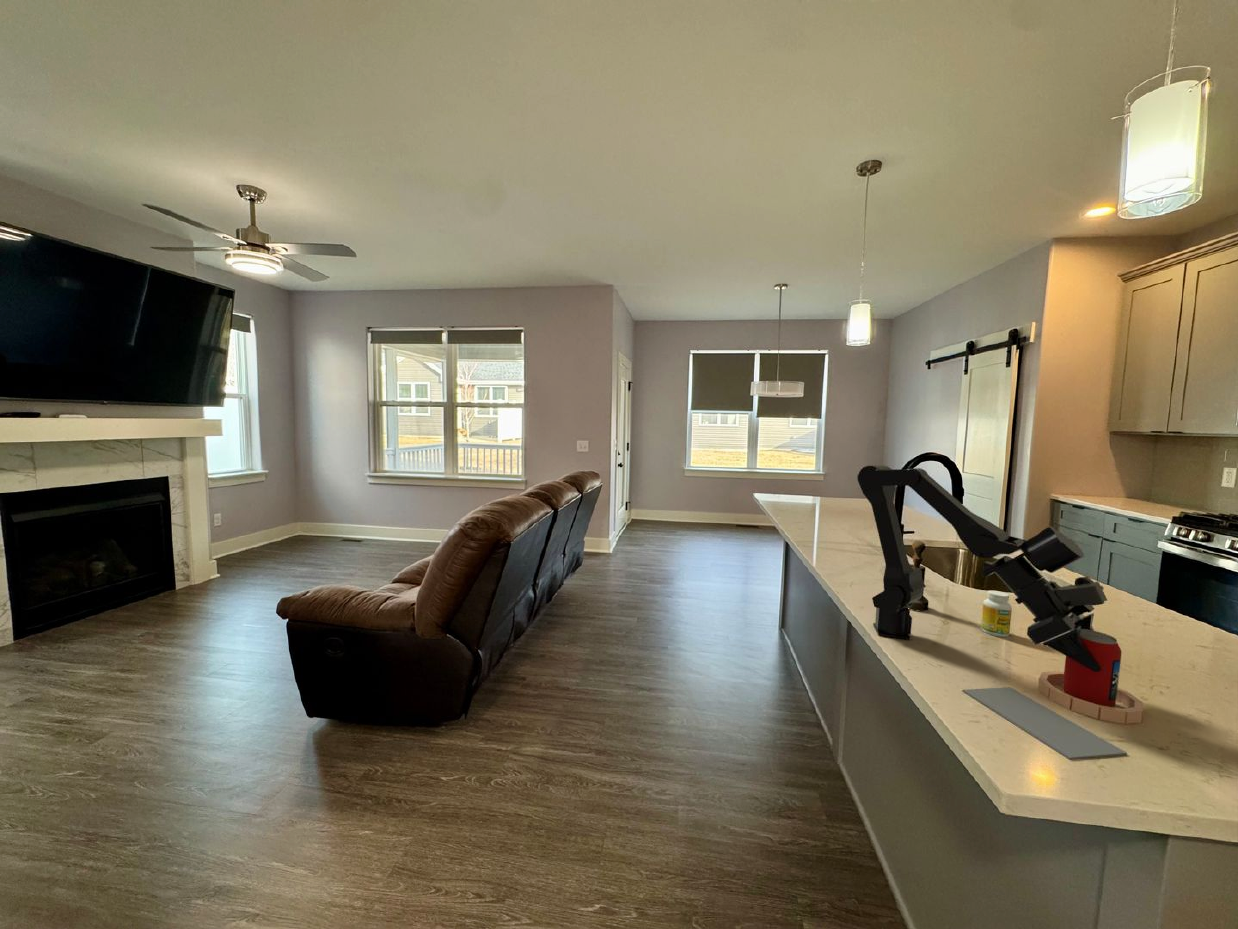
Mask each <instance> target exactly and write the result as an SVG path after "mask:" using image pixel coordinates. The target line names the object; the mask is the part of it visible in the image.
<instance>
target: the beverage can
mask: <svg viewBox="0 0 1238 929" xmlns="http://www.w3.org/2000/svg"><path fill="white" fill-rule="evenodd" d="M1080 639H1081V640H1082V642H1083V643H1084V644H1085V646H1086V647H1087V648H1088V650H1089V651H1090V653H1091V654H1092V655H1093V657H1094V658H1095V659H1096V661H1097V662H1098V664H1099V665H1100V667H1101V668H1102V670H1101V671H1098V672H1094V671H1092V670H1091V669H1089V668H1087V667H1085V666H1083V665H1082V664H1080V663H1078V662H1076V661H1075V660H1073V659H1071V658H1069V657H1067V656H1066V655H1065V662H1064V671H1063V672H1064V680H1063V684H1062V692H1064V693H1066V694H1069V695H1071V696H1073V697H1075V698H1078V699H1081V700H1084V701H1087V702H1091V703H1094V704H1097V705H1102V706H1108V707H1114V708H1115V706H1116V702H1117V701H1116V696H1117V688H1119V687H1118V686H1119V679H1120V671H1121V670H1120V669H1121V663H1122V662H1121V661H1122V649H1121V647H1120V646H1119V644H1118V640H1117V638H1116V637H1114V636H1112V635H1110V634H1106V633H1104V632H1101V631H1097V630H1094V631H1093V630H1087V629H1081V630H1080Z"/></svg>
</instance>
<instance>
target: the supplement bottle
mask: <svg viewBox="0 0 1238 929" xmlns="http://www.w3.org/2000/svg"><path fill="white" fill-rule="evenodd" d="M1009 600H1010V594H1008V593H1006V592H1003V591H999V590H987V598H986V599H984V600H983V602H982V614H981V625H980V627H981V630H982V632H983V633H985V634H989V635H991V636H995V637H1000V638H1002V637H1003V638H1007V637H1009V635H1010V632H1011V622H1012V612H1013V611H1012V610H1013V607H1012V605H1011V603H1009Z"/></svg>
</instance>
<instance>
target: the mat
mask: <svg viewBox="0 0 1238 929" xmlns="http://www.w3.org/2000/svg"><path fill="white" fill-rule="evenodd" d="M961 691H962V693H963V694H966V695H968V697H971V698H972V699H973V700H975V701H977V702H978V703H980V704H982V705H983V706H985V707H986V708H987V709H989V710H991V711H992V712H994V713H995V714H997V715H999V716H1001V717H1002V718H1003V719H1005V720H1006V721H1008V722H1010V723H1011V724H1013V725H1015V726H1017V727H1018V728H1019V729H1021V730H1022V731H1024V732H1025V733H1026V734H1027V733H1028V734H1029V735H1030V736H1031V737H1032V738H1033V737H1034V738H1035V739H1036V740H1039V742H1041V743H1042V744H1044V745H1045V746H1047V747H1049V748H1051V749H1052V750H1053V751H1055V752H1057V753H1058V754H1060V755H1062V756H1063V757H1065V758H1066V759H1067V760H1078V759H1092V758H1093V759H1095V758H1103V757H1114V756H1115V757H1116V756H1126V755H1127V754H1128V753H1127V752H1126V751H1125V750H1123V749H1121V748H1120V747H1118V746H1116V745H1114V744H1113V743H1111V742H1109V741H1107V740H1105V739H1103V738H1102V737H1100V736H1098V735H1097V734H1095V733H1093V732H1091V731H1090V730H1087V729H1086V728H1084V727H1083V726H1080V725H1078V724H1077V723H1075V722H1073V721H1071V720H1070V719H1067V717H1064V716H1063V715H1060V714H1058V713H1057V712H1056V711H1054V710H1052V709H1050V708H1048V707H1046V706H1045V705H1043V704H1042V703H1039V702H1038V701H1036V700H1034V699H1032V698H1031V697H1029V696H1027V695H1026V694H1024V693H1022V692H1020V691H1018V690H1017V689H1014V688H1013V687H1011V686H1008V687H1007V686H1005V687H1002V686H1001V687H987V688H984V687H983V688H971V689H970V688H969V689H962V690H961Z"/></svg>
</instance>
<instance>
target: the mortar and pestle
mask: <svg viewBox="0 0 1238 929" xmlns="http://www.w3.org/2000/svg"><path fill="white" fill-rule="evenodd" d="M911 548H912V549H913V552H914V555H913V556H912V562H913V564H911V563H909V564H910V565H911V566H912V568H913V569H914V570H918V569H920V570H921V572H922V580H923V582H924V583H925V578H926V577H925V575H926V566H923V565H921V564H922V562H923V556H922V553H923V552H924V551H925V549H926V544H925V542H924V541H922V540H915V541H913V542H912V545H911ZM924 589H925V588H923V590H924ZM924 591H925V590H924ZM907 608H909V610H911V609H914V610H913V611H916V610H920V611H919V612H924V610H926V611H928V610H929V600H928V598H927V597H925V596H924V594H923V595H922V597H921V598H920V599H919V600H917V601H915V602H914V603H913V605H912V606H909V607H907Z"/></svg>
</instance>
